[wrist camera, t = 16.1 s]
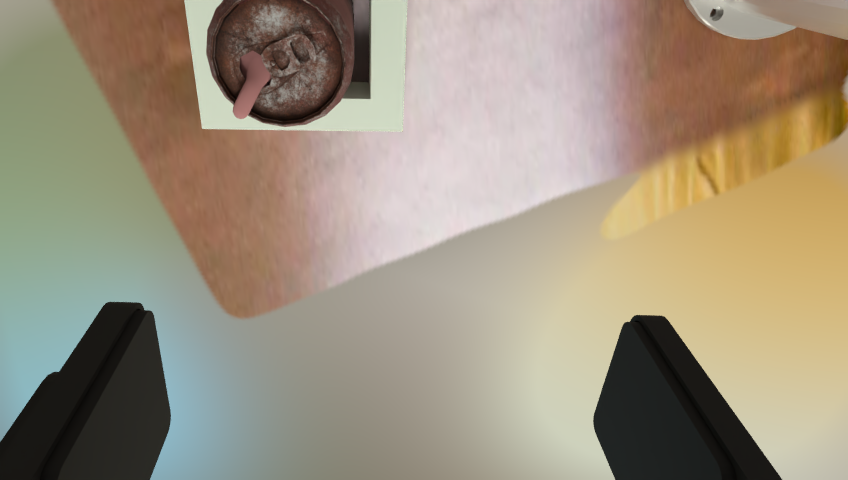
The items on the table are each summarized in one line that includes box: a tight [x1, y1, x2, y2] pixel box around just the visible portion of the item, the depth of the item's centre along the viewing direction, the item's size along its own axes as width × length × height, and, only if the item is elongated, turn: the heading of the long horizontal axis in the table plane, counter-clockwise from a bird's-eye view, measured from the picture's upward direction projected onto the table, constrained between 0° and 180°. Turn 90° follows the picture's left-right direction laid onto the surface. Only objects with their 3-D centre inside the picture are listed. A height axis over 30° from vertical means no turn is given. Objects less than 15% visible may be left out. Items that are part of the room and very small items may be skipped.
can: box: [206, 0, 354, 127], centre depth 30 cm, size 6×6×14 cm
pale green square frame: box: [184, 0, 407, 132], centre depth 34 cm, size 12×12×4 cm
